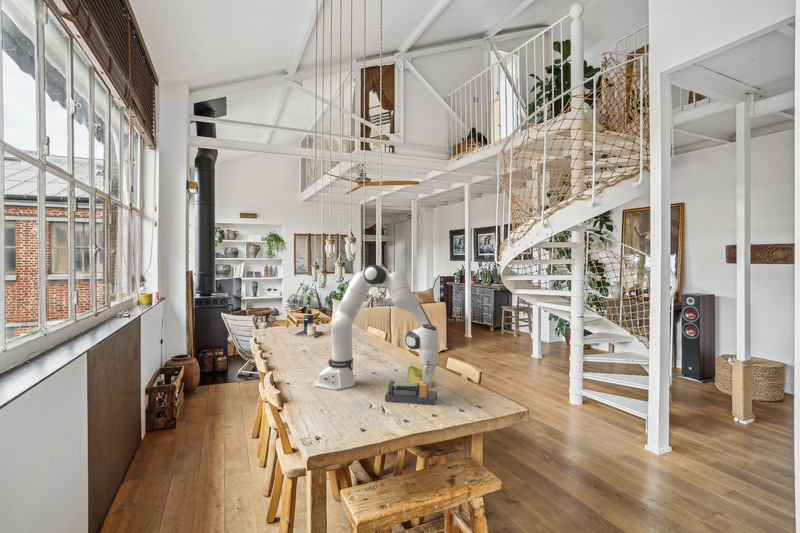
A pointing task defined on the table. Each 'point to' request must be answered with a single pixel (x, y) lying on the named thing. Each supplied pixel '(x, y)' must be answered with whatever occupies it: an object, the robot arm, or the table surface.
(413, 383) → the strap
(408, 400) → the heatsink
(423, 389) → the clip
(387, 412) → the table surface
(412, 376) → the plastic component
